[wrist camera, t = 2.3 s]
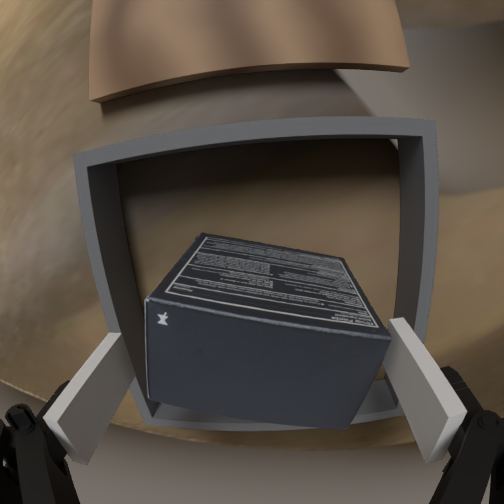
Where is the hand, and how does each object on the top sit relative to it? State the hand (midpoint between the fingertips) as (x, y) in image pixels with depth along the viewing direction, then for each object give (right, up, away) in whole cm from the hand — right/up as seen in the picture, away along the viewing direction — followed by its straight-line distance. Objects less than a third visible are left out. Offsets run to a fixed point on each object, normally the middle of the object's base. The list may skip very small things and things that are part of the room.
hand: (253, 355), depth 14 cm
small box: (+1, +2, +9) cm, 9 cm away
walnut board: (-1, +25, +2) cm, 25 cm away
